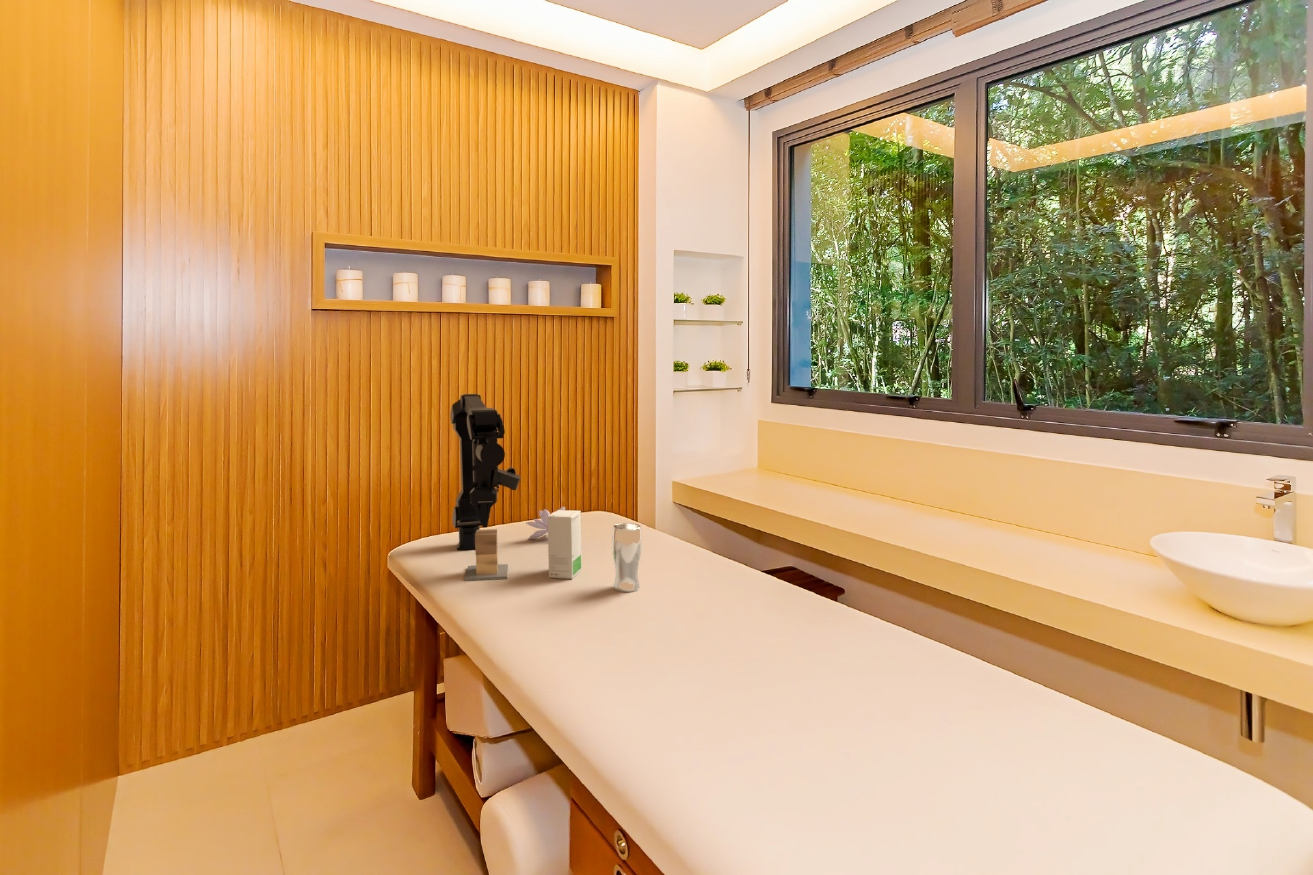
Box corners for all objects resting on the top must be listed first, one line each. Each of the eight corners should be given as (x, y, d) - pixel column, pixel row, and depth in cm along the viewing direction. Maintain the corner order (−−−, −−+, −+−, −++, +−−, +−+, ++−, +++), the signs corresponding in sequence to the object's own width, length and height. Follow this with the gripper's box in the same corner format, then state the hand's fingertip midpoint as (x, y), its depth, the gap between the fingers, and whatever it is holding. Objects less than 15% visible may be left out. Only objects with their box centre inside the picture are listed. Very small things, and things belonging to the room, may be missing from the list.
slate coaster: (468, 568, 185) (467, 565, 185) (507, 566, 187) (507, 564, 187) (464, 580, 176) (464, 578, 176) (507, 578, 177) (506, 576, 177)
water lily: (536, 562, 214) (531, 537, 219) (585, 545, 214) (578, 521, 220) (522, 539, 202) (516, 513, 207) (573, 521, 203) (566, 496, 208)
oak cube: (477, 568, 183) (477, 549, 183) (497, 567, 184) (497, 548, 184) (476, 574, 178) (475, 554, 178) (497, 573, 179) (496, 553, 179)
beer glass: (611, 583, 175) (611, 522, 173) (640, 582, 175) (640, 522, 173) (612, 593, 168) (612, 530, 166) (642, 592, 169) (642, 529, 167)
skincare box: (572, 579, 177) (571, 517, 175) (546, 577, 178) (545, 516, 176) (582, 569, 185) (582, 509, 183) (557, 567, 186) (557, 508, 184)
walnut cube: (477, 549, 183) (476, 529, 182) (497, 548, 184) (497, 529, 183) (475, 554, 178) (475, 535, 177) (496, 554, 179) (496, 534, 178)
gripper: (517, 466, 170) (518, 531, 172) (518, 454, 188) (519, 512, 190) (468, 467, 168) (470, 532, 170) (474, 454, 186) (475, 514, 188)
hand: (486, 522), depth 180 cm, fingers open, 9 cm apart
